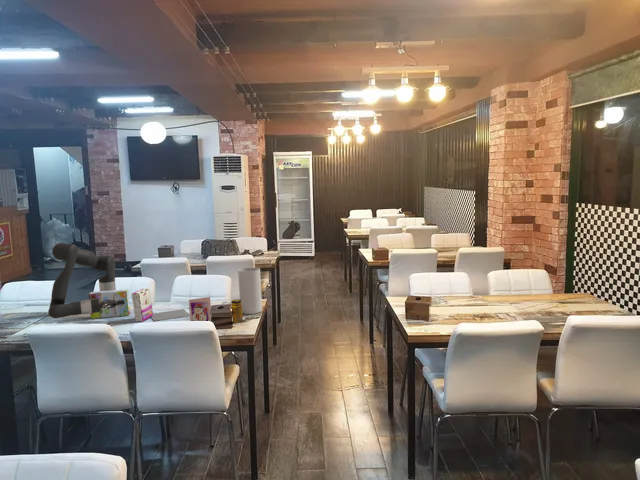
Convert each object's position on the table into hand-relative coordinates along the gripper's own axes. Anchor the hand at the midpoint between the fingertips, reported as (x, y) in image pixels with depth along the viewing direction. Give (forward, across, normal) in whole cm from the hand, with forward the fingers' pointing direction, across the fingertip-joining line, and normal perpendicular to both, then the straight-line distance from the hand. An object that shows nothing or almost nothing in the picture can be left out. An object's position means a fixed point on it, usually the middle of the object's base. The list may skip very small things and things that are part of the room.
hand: (124, 301), depth 280 cm
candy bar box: (+10, 0, +12) cm, 15 cm away
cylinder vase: (+67, -20, +12) cm, 71 cm away
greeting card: (+35, -33, +12) cm, 49 cm away
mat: (+24, 0, +12) cm, 27 cm away
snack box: (-6, +19, +12) cm, 23 cm away
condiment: (+54, -36, +12) cm, 66 cm away
